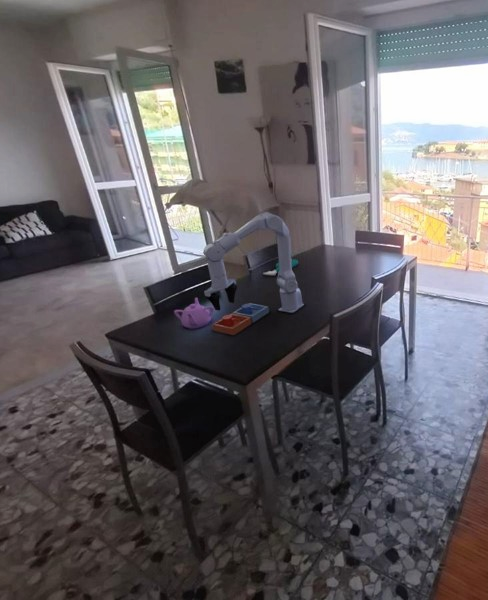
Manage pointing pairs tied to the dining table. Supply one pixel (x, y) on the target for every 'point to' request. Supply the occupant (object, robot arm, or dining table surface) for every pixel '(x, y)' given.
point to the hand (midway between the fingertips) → (224, 306)
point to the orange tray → (234, 329)
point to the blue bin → (254, 312)
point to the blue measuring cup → (248, 309)
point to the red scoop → (229, 320)
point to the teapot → (195, 315)
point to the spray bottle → (294, 263)
